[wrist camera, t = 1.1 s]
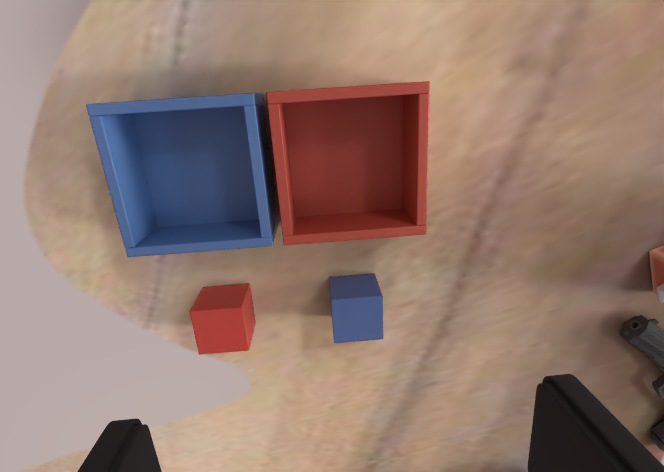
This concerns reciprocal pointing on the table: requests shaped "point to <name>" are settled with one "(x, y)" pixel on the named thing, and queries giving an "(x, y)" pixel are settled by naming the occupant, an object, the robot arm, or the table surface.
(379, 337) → the blue block
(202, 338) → the red block
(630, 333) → the handgun
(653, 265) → the control panel
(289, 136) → the red bin
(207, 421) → the table surface
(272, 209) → the blue bin
